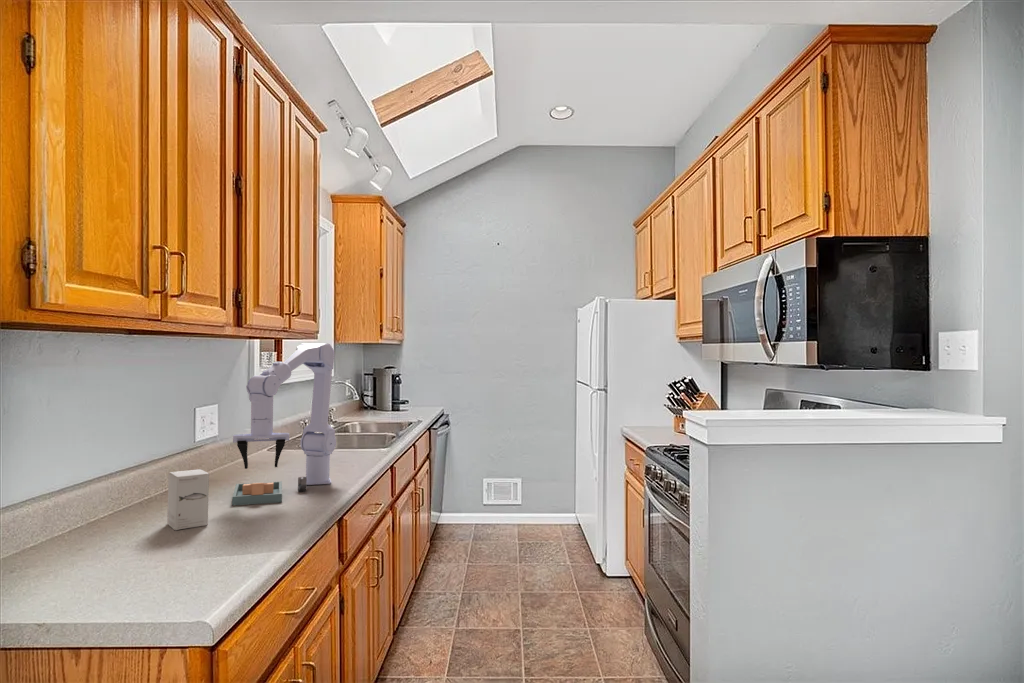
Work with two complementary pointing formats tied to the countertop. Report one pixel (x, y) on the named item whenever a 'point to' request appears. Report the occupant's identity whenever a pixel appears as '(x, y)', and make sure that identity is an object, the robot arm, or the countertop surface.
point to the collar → (257, 488)
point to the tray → (257, 499)
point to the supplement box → (188, 499)
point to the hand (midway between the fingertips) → (261, 467)
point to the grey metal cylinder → (302, 484)
